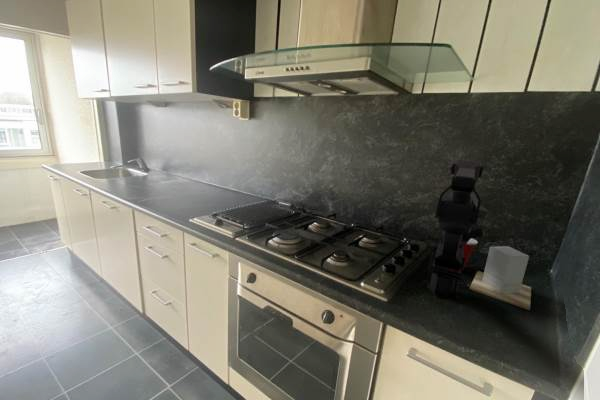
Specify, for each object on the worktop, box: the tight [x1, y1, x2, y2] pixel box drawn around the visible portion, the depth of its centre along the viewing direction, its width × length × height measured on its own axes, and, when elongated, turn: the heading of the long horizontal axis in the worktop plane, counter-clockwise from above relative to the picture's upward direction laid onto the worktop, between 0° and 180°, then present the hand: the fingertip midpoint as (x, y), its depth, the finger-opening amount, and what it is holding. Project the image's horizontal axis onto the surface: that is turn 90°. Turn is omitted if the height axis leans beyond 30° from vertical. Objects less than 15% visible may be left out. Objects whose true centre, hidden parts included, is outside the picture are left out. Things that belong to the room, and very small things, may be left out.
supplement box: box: [482, 245, 530, 293], centre depth 86 cm, size 7×7×13 cm
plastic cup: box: [450, 238, 479, 272], centre depth 100 cm, size 11×11×12 cm
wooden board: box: [469, 270, 532, 311], centre depth 88 cm, size 15×15×1 cm
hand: (453, 239), depth 93 cm, fingers open, 9 cm apart
